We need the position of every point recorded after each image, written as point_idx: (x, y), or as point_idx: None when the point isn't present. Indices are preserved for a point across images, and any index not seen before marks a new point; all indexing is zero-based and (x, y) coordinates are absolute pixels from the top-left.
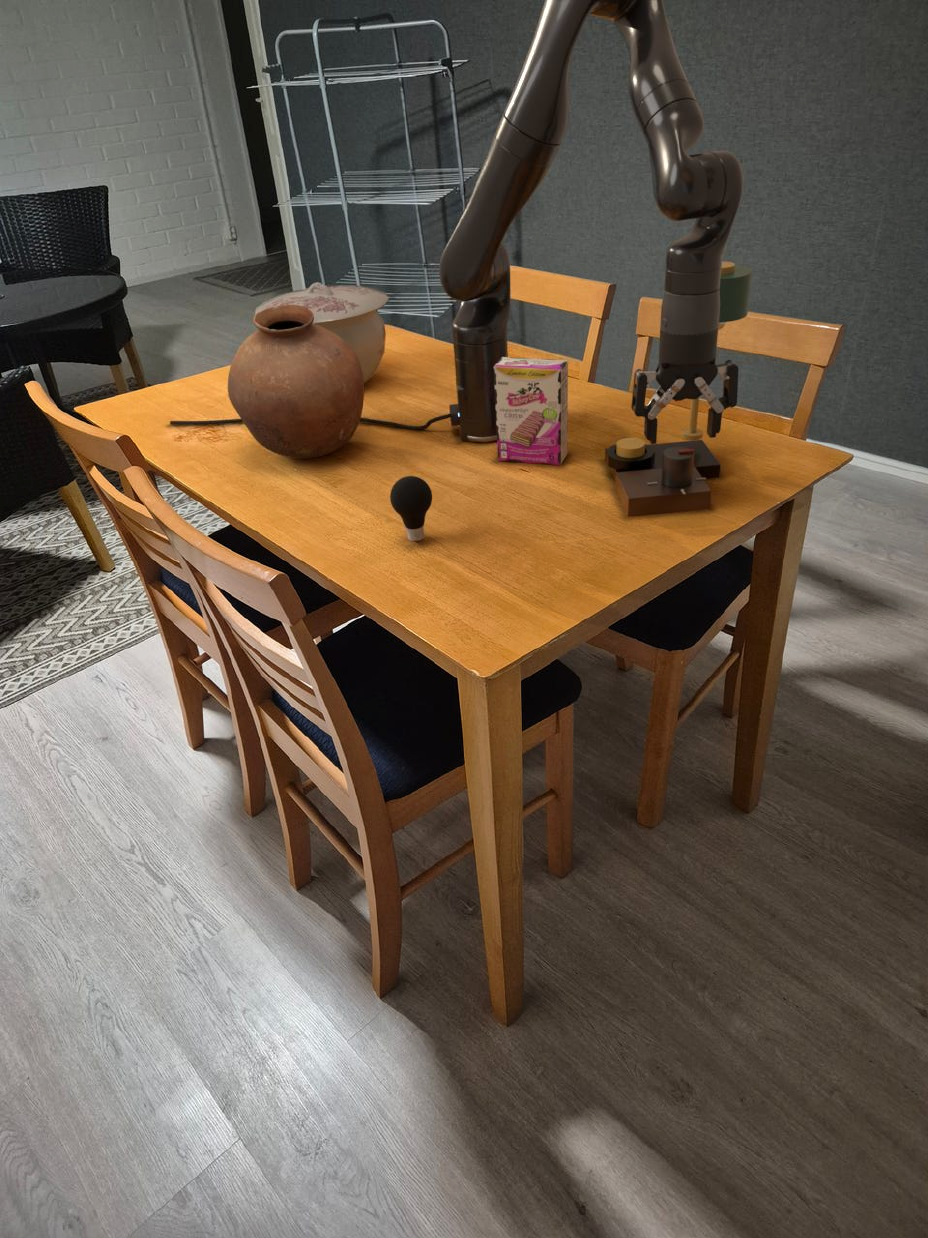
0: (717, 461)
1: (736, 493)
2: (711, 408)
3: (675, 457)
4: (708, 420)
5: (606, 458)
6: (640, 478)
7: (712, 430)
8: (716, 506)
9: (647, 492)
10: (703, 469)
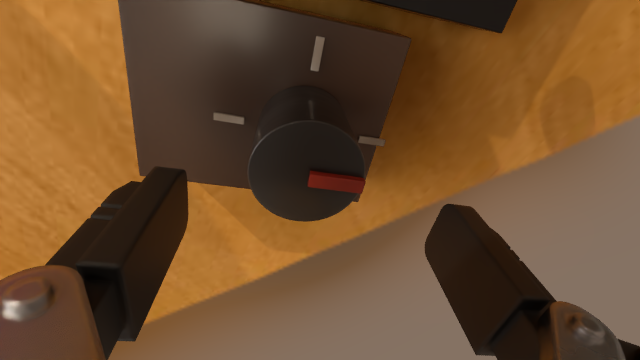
0: (513, 3)
1: (447, 129)
2: (519, 330)
3: (279, 203)
4: (474, 256)
5: None
6: (201, 65)
7: (438, 277)
8: (371, 167)
9: (199, 162)
10: (446, 20)
